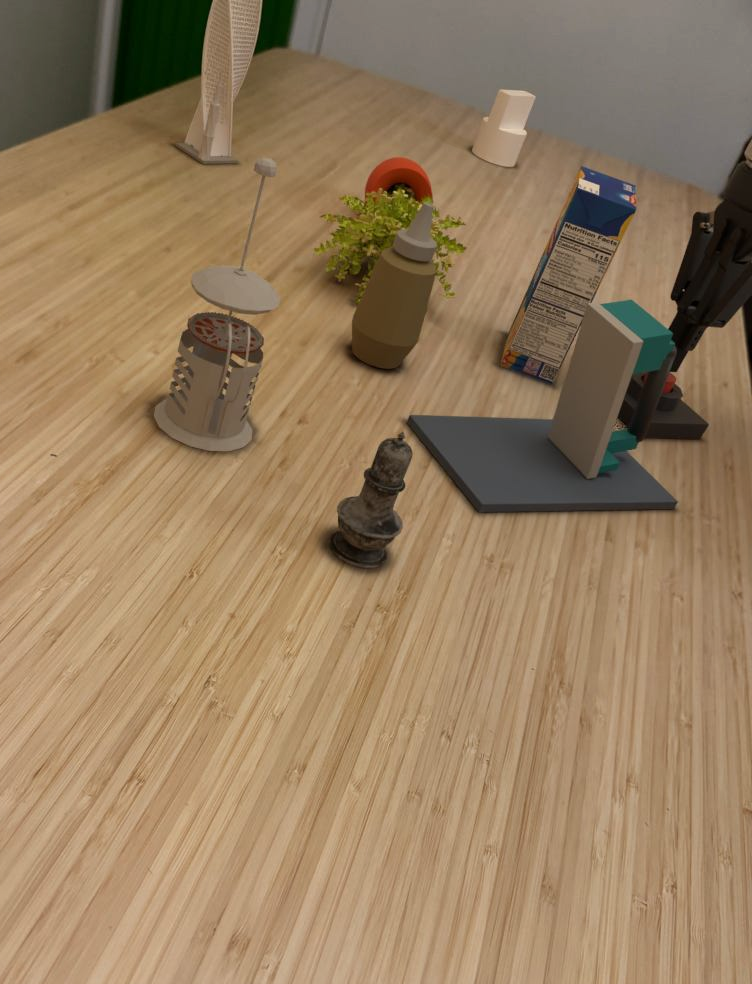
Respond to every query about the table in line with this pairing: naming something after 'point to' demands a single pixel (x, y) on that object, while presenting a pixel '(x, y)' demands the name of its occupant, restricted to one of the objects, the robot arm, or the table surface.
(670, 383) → the power button
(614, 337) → the iron
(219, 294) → the french press
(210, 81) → the skyscraper
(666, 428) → the button base
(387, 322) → the squeeze bottle
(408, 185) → the potted plant
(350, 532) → the salt shaker
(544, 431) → the ironing mat
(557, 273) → the beverage box
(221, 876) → the table surface
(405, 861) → the table surface
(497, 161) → the cylinder with rectangular tab
